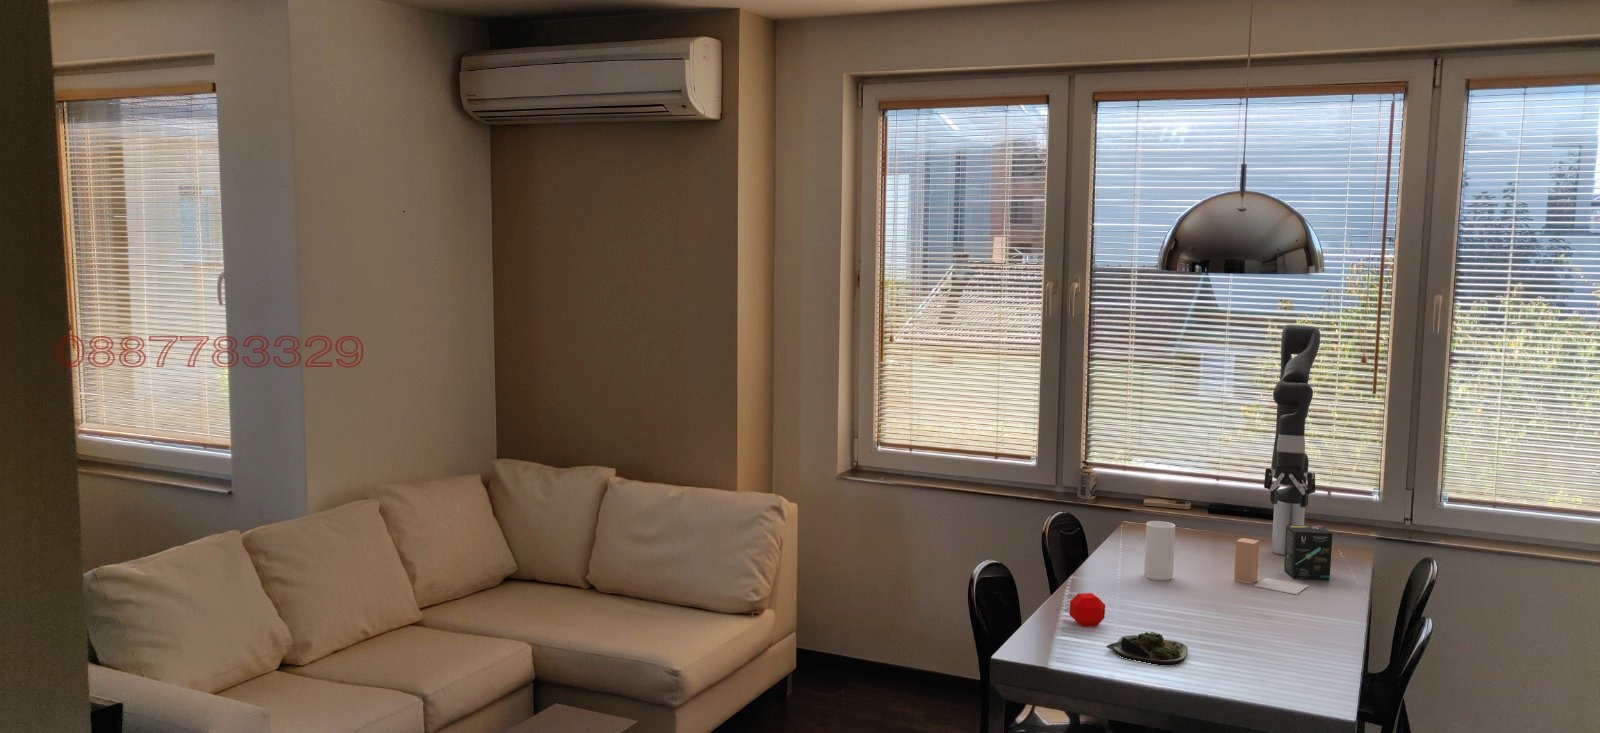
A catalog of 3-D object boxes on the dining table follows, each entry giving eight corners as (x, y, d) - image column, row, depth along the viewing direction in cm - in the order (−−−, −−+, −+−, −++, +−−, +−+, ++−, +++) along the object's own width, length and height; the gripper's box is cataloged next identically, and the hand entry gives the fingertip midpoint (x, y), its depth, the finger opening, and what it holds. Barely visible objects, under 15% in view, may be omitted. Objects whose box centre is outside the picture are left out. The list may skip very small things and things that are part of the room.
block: (1240, 577, 341) (1242, 537, 339) (1257, 580, 337) (1259, 540, 336) (1234, 580, 337) (1236, 540, 336) (1251, 583, 334) (1253, 543, 332)
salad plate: (1121, 634, 288) (1121, 616, 288) (1194, 646, 280) (1195, 628, 279) (1102, 657, 271) (1103, 638, 271) (1180, 671, 263) (1181, 652, 262)
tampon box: (1319, 572, 347) (1322, 525, 346) (1330, 580, 338) (1333, 532, 337) (1282, 570, 348) (1285, 524, 347) (1292, 579, 339) (1295, 531, 338)
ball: (1107, 628, 291) (1109, 599, 290) (1078, 629, 290) (1079, 600, 289) (1094, 618, 299) (1095, 590, 298) (1066, 619, 298) (1067, 591, 297)
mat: (1266, 578, 339) (1266, 577, 339) (1308, 586, 331) (1308, 585, 331) (1253, 586, 331) (1253, 585, 331) (1296, 594, 323) (1296, 593, 323)
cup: (1142, 578, 338) (1145, 525, 336) (1145, 571, 345) (1147, 519, 344) (1171, 581, 334) (1174, 528, 333) (1173, 574, 342) (1176, 522, 340)
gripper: (1320, 452, 330) (1318, 508, 330) (1273, 448, 340) (1271, 502, 340) (1308, 452, 325) (1306, 509, 325) (1261, 448, 336) (1259, 503, 336)
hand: (1288, 505), depth 333 cm, fingers open, 8 cm apart
